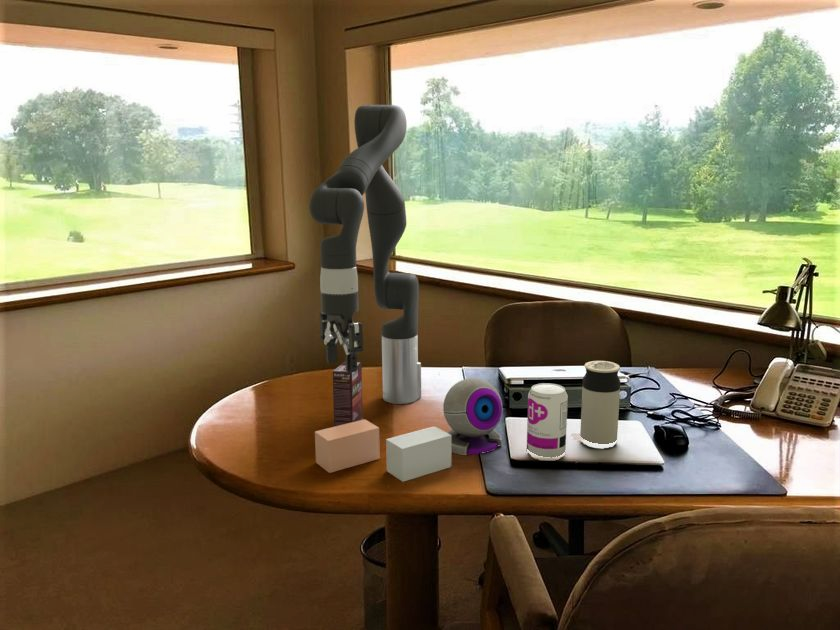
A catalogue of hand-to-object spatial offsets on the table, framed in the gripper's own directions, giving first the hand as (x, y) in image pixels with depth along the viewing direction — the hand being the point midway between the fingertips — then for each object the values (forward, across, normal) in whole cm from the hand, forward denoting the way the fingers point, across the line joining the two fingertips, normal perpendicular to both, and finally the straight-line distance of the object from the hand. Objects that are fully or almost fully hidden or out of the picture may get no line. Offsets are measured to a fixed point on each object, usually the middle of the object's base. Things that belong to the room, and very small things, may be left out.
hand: (341, 367), depth 150 cm
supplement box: (+21, +14, -9) cm, 26 cm away
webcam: (+21, -8, -28) cm, 36 cm away
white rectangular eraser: (+21, -12, -11) cm, 26 cm away
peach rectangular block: (+21, 0, -1) cm, 21 cm away
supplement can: (+21, -22, -37) cm, 48 cm away
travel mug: (+21, -24, -51) cm, 60 cm away
